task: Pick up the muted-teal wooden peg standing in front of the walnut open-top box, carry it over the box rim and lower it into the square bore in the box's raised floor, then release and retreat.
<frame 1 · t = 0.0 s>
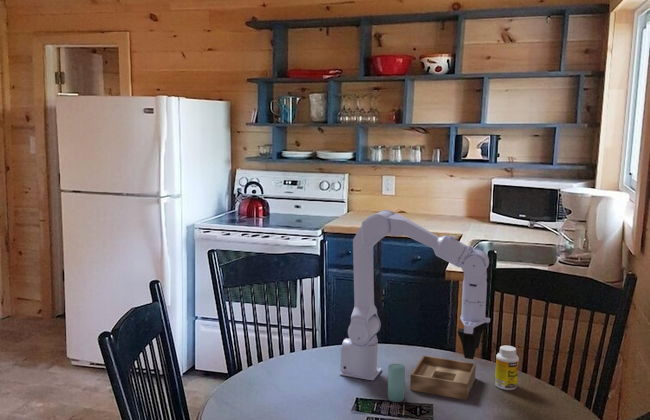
hand: (471, 352, 147), 10 cm above the table, tool pointing down, fingers open, 7 cm apart
box: (443, 383, 153), on the table
supplement bottle: (505, 387, 152), on the table
peg: (395, 398, 144), on the table
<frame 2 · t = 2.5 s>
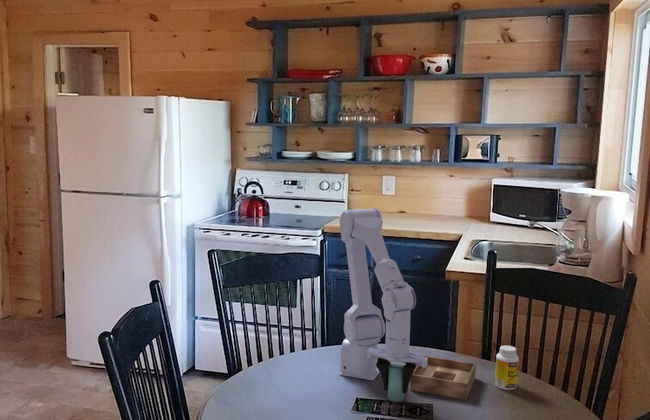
hand: (396, 390, 144), 2 cm above the table, tool pointing down, fingers closed on peg, 4 cm apart
peg: (395, 398, 144), on the table, touching gripper
everything else where it was.
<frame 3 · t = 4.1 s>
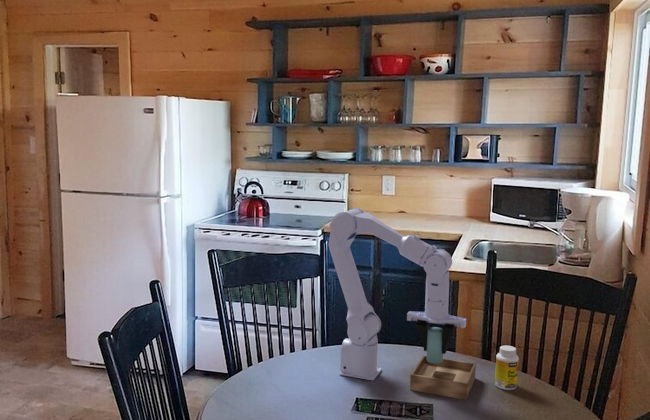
hand: (435, 351, 149), 9 cm above the table, tool pointing down, fingers closed on peg, 4 cm apart
peg: (434, 360, 149), point 7 cm above the table, touching gripper
everything else where it was.
when the fingers open (3 cm above the table, at t = 6.2 s): peg drops 1 cm, resting in box.
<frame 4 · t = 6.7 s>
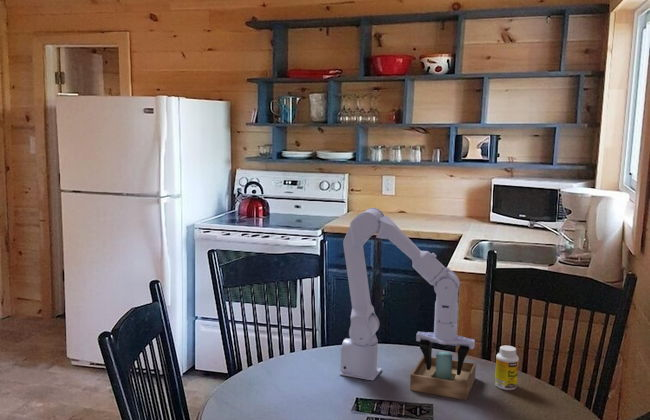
hand: (443, 371, 152), 3 cm above the table, tool pointing down, fingers open, 7 cm apart
peg: (443, 384, 152), resting in box
everything else where it was.
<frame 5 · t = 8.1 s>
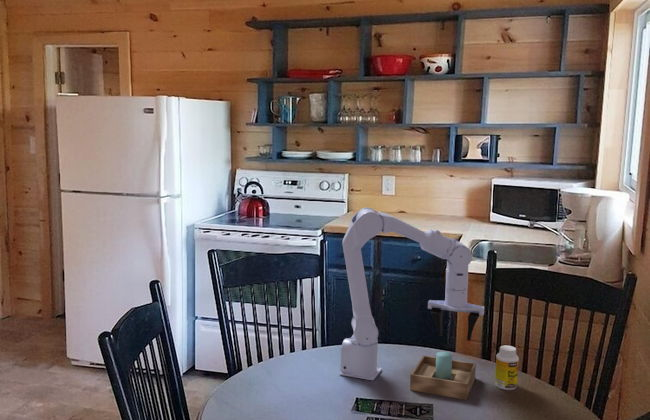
hand: (454, 337, 158), 10 cm above the table, tool pointing down, fingers open, 7 cm apart
nothing on the table moved.
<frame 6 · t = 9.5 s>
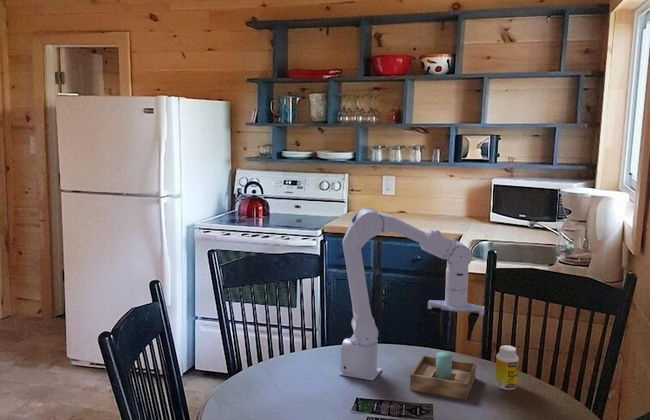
hand: (454, 337, 158), 10 cm above the table, tool pointing down, fingers open, 7 cm apart
nothing on the table moved.
at the end: peg 0.3 cm off-centre on the box, point 0.0 cm above the box's base; peg tilted 0°; the gripper is holding nothing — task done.
